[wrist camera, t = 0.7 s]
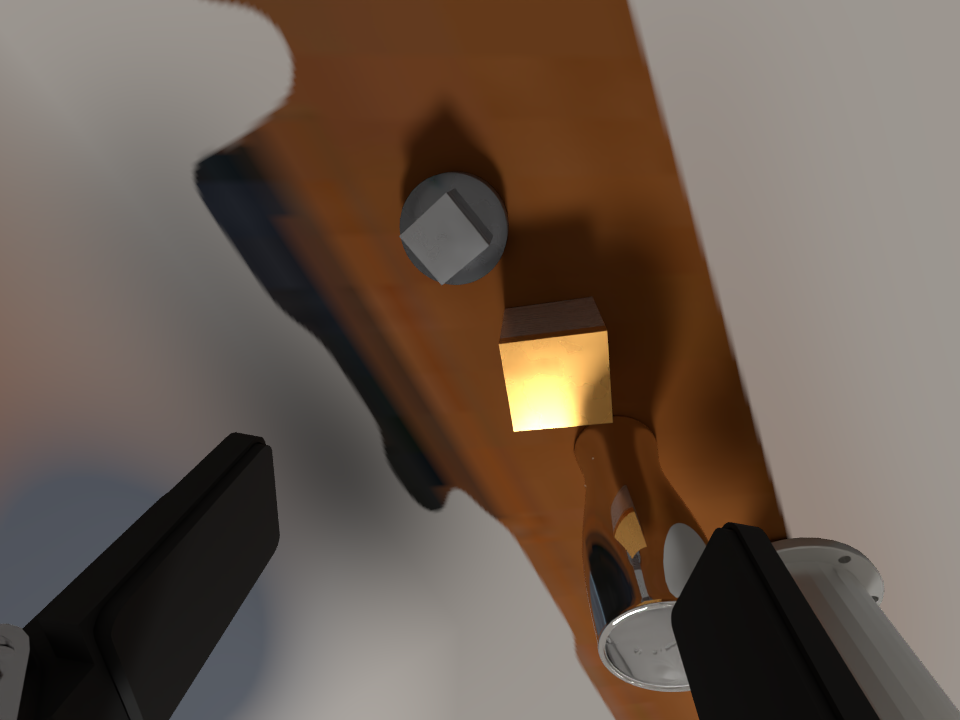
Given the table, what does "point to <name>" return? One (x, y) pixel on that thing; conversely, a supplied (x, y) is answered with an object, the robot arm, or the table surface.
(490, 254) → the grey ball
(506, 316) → the wooden tan cube
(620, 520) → the beer glass
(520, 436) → the table surface
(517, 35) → the table surface
